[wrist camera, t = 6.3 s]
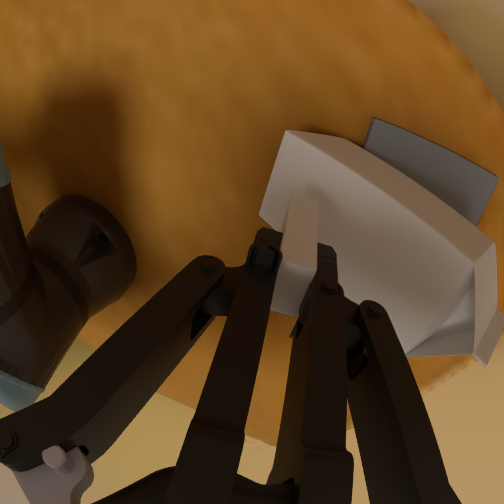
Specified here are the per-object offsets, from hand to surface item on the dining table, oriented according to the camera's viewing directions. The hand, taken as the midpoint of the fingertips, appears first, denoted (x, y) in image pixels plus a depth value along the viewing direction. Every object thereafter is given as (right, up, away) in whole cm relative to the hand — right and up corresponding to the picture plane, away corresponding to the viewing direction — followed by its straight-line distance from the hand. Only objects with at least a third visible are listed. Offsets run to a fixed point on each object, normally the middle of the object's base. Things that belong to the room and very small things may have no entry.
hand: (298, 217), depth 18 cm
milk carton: (+1, +4, +7) cm, 8 cm away
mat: (+13, +3, +9) cm, 16 cm away
